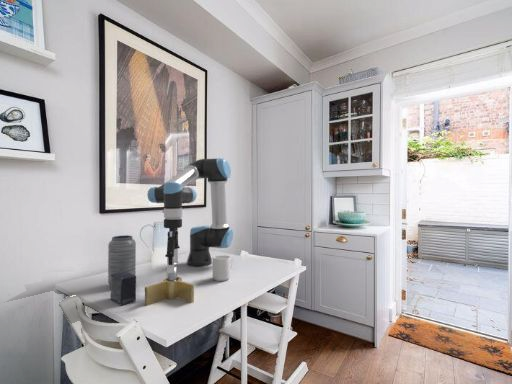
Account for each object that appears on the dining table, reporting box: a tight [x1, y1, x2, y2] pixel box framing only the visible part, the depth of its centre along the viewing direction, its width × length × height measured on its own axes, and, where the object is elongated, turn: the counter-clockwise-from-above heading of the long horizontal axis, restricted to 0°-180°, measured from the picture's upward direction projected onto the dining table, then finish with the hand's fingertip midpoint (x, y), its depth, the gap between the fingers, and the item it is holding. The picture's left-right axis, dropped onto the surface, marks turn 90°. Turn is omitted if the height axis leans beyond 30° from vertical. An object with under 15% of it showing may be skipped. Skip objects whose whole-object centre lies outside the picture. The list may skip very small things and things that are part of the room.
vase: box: [107, 234, 137, 286], centre depth 128 cm, size 12×12×23 cm
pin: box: [167, 262, 178, 281], centre depth 115 cm, size 4×4×14 cm
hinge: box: [144, 276, 195, 306], centre depth 113 cm, size 13×19×7 cm
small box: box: [109, 271, 137, 307], centre depth 110 cm, size 11×6×10 cm, turn 48°
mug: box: [212, 254, 234, 282], centre depth 139 cm, size 12×9×11 cm
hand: (172, 267), depth 116 cm, fingers open, 13 cm apart
